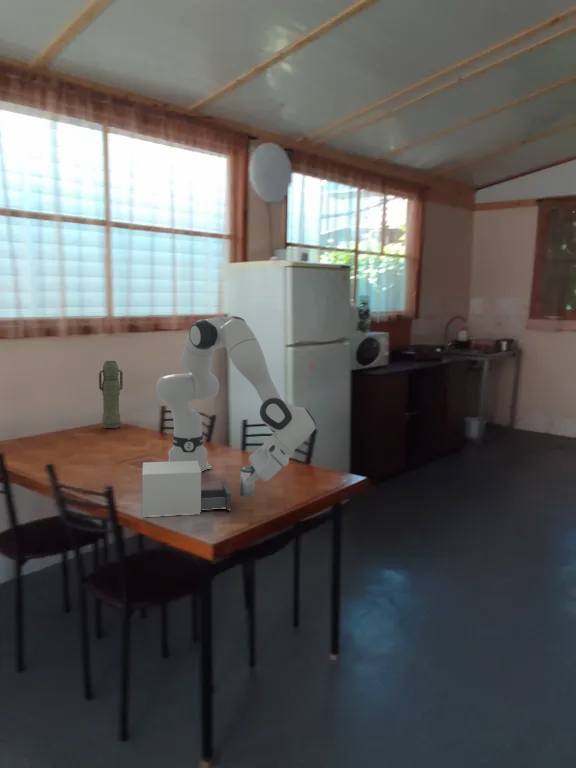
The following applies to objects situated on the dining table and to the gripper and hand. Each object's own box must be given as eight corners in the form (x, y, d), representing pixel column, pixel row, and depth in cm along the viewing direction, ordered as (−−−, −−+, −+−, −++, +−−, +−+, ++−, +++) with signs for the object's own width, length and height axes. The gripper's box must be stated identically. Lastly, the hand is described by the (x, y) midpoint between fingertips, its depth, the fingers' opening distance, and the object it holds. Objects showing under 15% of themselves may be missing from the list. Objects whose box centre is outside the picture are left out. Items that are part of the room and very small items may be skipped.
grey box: (143, 503, 201) (142, 462, 199) (197, 500, 205) (197, 460, 203) (142, 518, 188) (142, 474, 186) (200, 514, 192) (201, 472, 190)
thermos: (97, 426, 317) (96, 360, 312) (119, 424, 324) (118, 359, 319) (103, 430, 310) (101, 362, 305) (125, 427, 317) (124, 361, 312)
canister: (238, 492, 196) (239, 465, 195) (253, 491, 197) (254, 465, 196) (241, 497, 192) (241, 470, 190) (255, 496, 193) (256, 469, 191)
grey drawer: (174, 500, 203) (174, 483, 202) (225, 498, 207) (225, 481, 206) (176, 514, 190) (176, 495, 190) (230, 511, 194) (230, 493, 193)
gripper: (263, 435, 204) (234, 464, 203) (276, 451, 184) (243, 483, 183) (276, 448, 205) (247, 477, 204) (289, 465, 185) (257, 497, 185)
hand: (245, 480), depth 194 cm, fingers closed on canister, 5 cm apart
